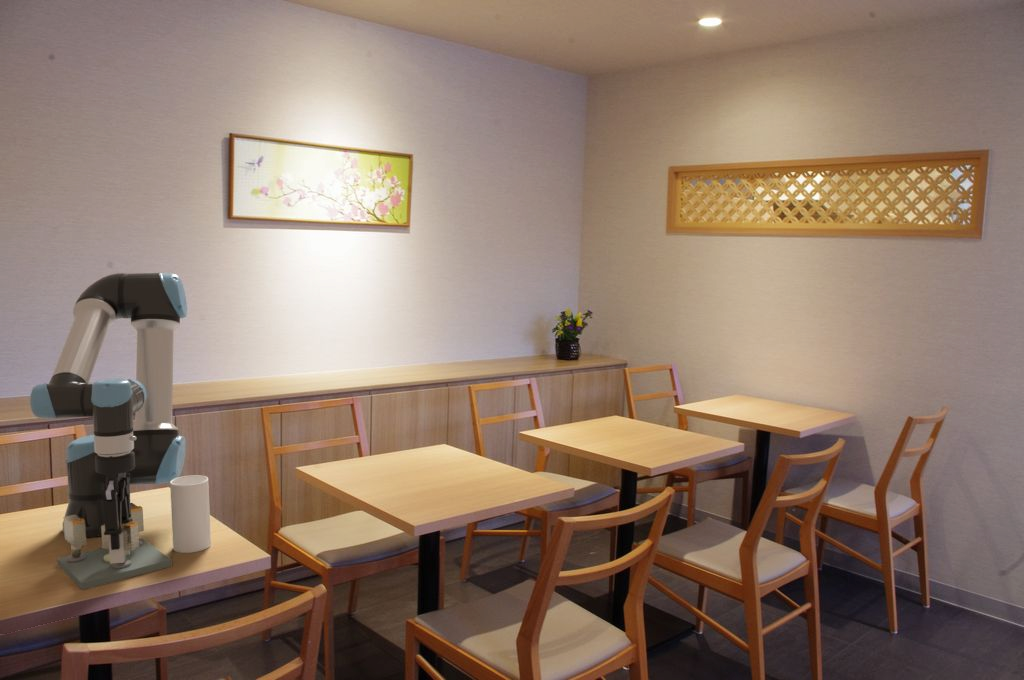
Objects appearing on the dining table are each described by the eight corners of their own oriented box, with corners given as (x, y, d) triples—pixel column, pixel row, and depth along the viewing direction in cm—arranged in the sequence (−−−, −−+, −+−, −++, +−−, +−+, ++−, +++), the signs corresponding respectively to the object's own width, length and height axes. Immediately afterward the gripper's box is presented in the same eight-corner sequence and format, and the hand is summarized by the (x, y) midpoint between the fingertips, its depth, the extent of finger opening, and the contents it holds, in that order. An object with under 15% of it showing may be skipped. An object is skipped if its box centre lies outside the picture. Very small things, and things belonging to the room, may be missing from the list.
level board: (57, 564, 175) (56, 554, 175) (142, 544, 188) (141, 534, 187) (82, 590, 162) (81, 579, 162) (171, 566, 175) (171, 555, 175)
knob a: (65, 552, 176) (63, 514, 175) (77, 549, 178) (75, 512, 177) (75, 561, 171) (72, 522, 170) (87, 558, 173) (84, 520, 172)
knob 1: (103, 562, 171) (101, 523, 170) (110, 558, 173) (108, 519, 172) (132, 565, 169) (130, 525, 168) (139, 560, 172) (137, 521, 171)
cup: (188, 555, 181) (184, 487, 179) (165, 548, 185) (162, 481, 183) (218, 544, 188) (215, 478, 186) (196, 537, 192) (193, 473, 190)
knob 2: (122, 539, 185) (120, 502, 184) (133, 536, 186) (131, 500, 185) (133, 547, 180) (131, 510, 179) (144, 544, 181) (142, 507, 180)
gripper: (123, 462, 161) (129, 572, 164) (143, 441, 178) (147, 542, 180) (83, 463, 159) (89, 575, 162) (106, 443, 176) (111, 545, 179)
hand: (120, 558), depth 171 cm, fingers closed on knob 1, 4 cm apart
